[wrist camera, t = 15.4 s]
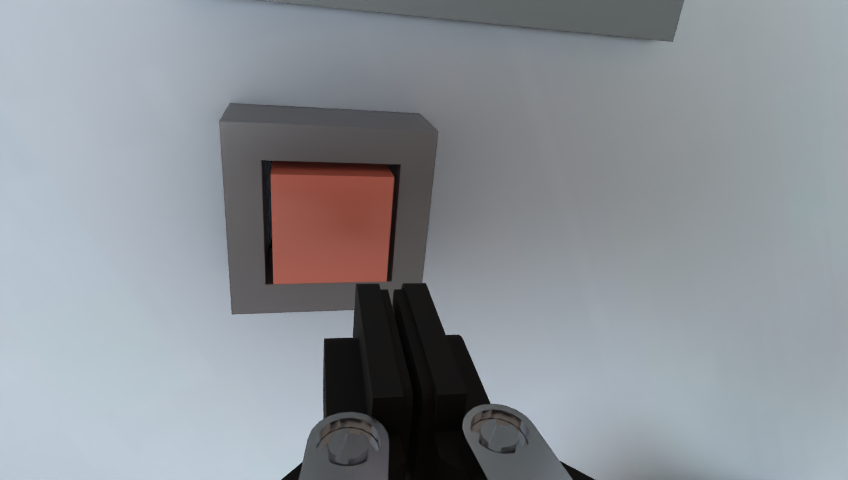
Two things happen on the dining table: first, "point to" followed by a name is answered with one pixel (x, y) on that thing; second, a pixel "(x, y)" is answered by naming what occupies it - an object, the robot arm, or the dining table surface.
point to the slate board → (537, 13)
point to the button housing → (319, 142)
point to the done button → (330, 221)
